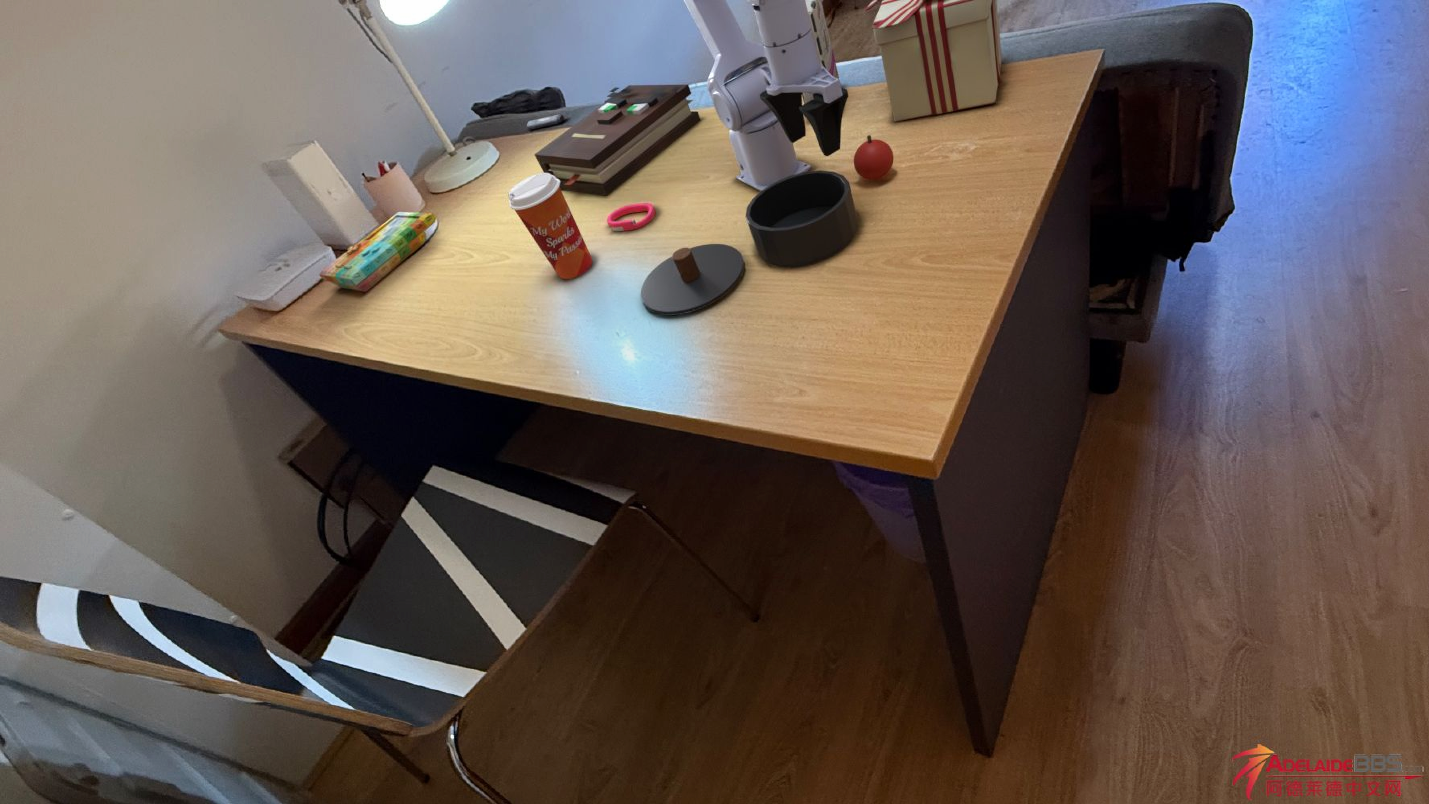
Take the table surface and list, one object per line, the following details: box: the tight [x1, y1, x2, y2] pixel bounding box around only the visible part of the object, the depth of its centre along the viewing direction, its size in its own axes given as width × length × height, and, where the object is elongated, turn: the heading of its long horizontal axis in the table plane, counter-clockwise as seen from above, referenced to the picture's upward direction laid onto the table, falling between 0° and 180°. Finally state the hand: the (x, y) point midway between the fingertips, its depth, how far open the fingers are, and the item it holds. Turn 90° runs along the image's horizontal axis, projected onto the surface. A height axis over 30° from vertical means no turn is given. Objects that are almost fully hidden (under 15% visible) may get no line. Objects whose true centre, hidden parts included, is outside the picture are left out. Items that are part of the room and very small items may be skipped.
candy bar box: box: [802, 0, 842, 105], centre depth 114 cm, size 11×5×16 cm, turn 168°
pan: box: [745, 169, 859, 269], centre depth 91 cm, size 13×13×6 cm
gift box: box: [862, 0, 1003, 123], centre depth 102 cm, size 17×18×17 cm
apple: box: [853, 134, 895, 181], centre depth 95 cm, size 5×5×6 cm
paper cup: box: [507, 172, 593, 280], centre depth 103 cm, size 8×8×14 cm
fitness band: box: [606, 202, 656, 232], centre depth 112 cm, size 8×6×2 cm
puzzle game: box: [318, 211, 437, 293], centre depth 133 cm, size 12×5×20 cm
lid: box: [640, 243, 745, 316], centre depth 92 cm, size 14×14×5 cm
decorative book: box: [533, 84, 702, 197], centre depth 130 cm, size 19×8×30 cm
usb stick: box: [526, 113, 565, 131], centre depth 160 cm, size 10×3×2 cm, turn 70°
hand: (814, 145), depth 91 cm, fingers open, 7 cm apart
